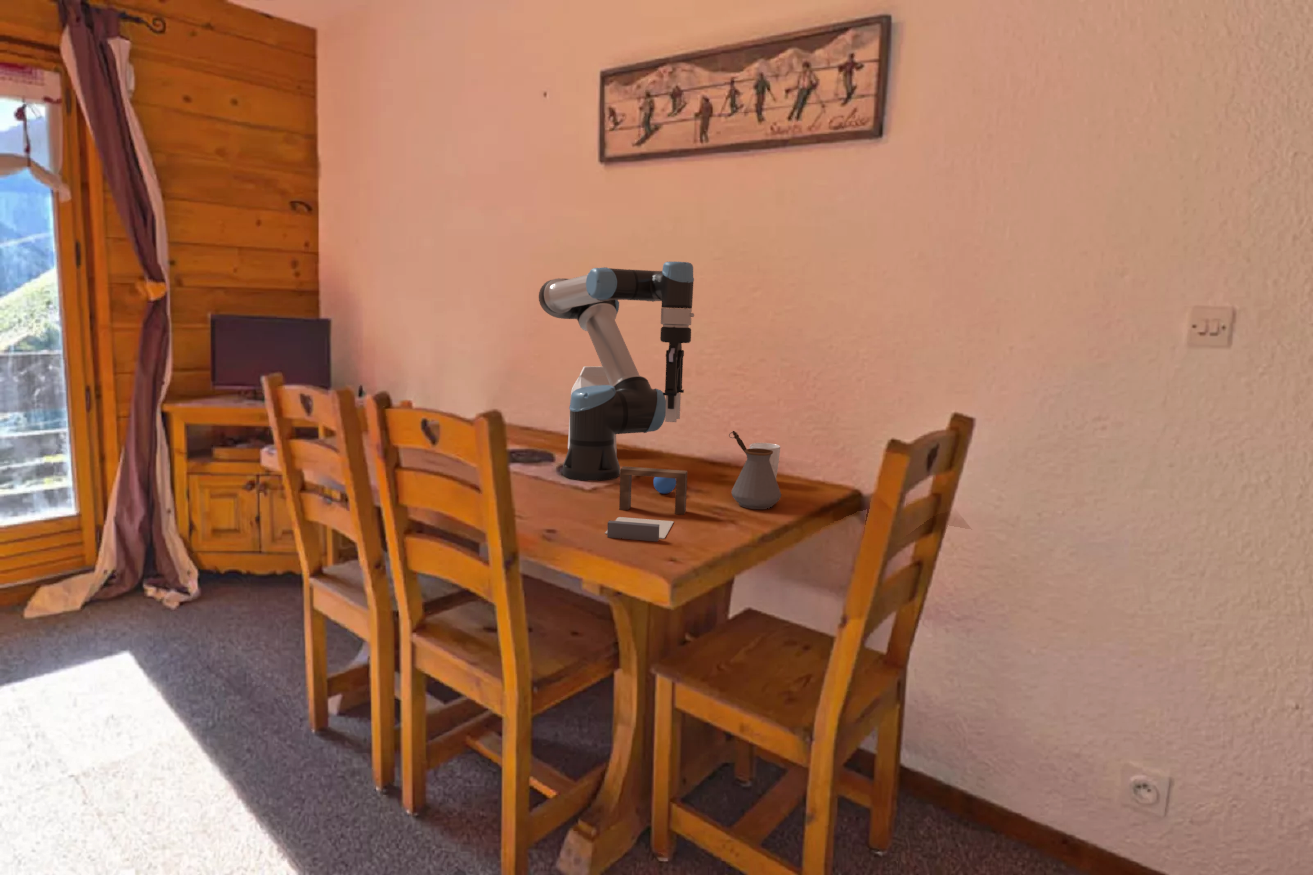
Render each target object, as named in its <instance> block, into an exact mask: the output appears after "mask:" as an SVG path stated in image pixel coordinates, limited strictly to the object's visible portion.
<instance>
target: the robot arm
mask: <svg viewBox="0 0 1313 875" xmlns="http://www.w3.org/2000/svg"><path fill="white" fill-rule="evenodd" d="M694 281H695V278H694V266H693V264H692V263H691V262H687V261H665V262H664V263H663V264H662V270H648V269H645V270H643V269H626V268H625V269H624V268H610V267H609V268H608V267H607V266H606V267H605V266H603V267H594V268H591V269H590V270H589V272H588V273H587V274H585V275H584V274H583V275H580V276H576V277H573V278H559V277H558V278H553V279H549V280H548V281H546V282H544V283H543V285H542V286H541V287H540V289H539V292H538V303H539V305H540V307H541V308H542V310H543V311H544V312H545V314H547V315H549V316H552V317H553V318H556V319H563V320H576V321H577V323H578V324H579V327H580V328H581V329H582V330H583V331H585V332H587V333H588V335H589V337H590V338H589V339H590V340H591V342H592V345H593V347H594V350H595V352H596V354H597V357H598V359H599V362H600V364H601V367H603V369H604V371H605V374H606V376H607V379H608V381H609V383H610V385H599V386H597V385H595V386H587V387H583V388H579V389H576V390H575V391H574V392H573V393H572V394H571V393H570V403H569V408H568V409H569V419H570V446H569V449H568V448H567V453H566V456H565V458H564V462H563V464H562V475H563V476H564V477H565V476H566V477H565V478H569V479H571V480H577V479H579V481H588V480H598V481H607V480H613V479H616V478H618V477H619V478H620V469H621V466H620V463H619V460H618V457H617V454H616V452H615V449H614V434H616V435H623V434H639V433H640V434H641V433H643V434H646V433H649V432H656V431H658V430H659V429H661V427H662V426H663V424H664V422H665V423H677V421H678V420H680V419H681V398H682V397H681V393H682V394H684V393H685V389H683V370H684V369H683V368H684V367H683V366H684V356H685V351H684V350H683V348H682V347H683V346H682V344H690V343H691V341H692V329H691V327H689V326H691V325H692V318H694V317H695V313H694V312H692V311H693V299H694V298H693V297H694V296H693V295H694ZM626 300H627V301H643V302H644V301H646V302H653V303H654V302H661V308H660V324H661V325H662V326H661V328H660V337H659V338H660V342H661V343H668V349H666V350H665V352H666V353H665V381H664V382H665V383H664V384H665V385H664V389H665V390H664V392H663V391H662V390H661V389H658V388H652V387H651V384H650V382H649V380H648V379H647V378H646V377H644V376H642V375H641V374H639V371H638V369H637V367H636V365H635V362H634V359H633V358H632V355H631V354H630V351H629V349H628V346H627V343H626V342H625V340H624V337H623V335H622V333H621V331H620V329H619V327H618V326H619V325H618V324H617V322H616V319H617V315H618V312H619V308H620V301H626Z"/></svg>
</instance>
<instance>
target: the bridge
mask: <svg viewBox="0 0 1313 875" xmlns="http://www.w3.org/2000/svg"><path fill="white" fill-rule="evenodd" d="M633 476H637V477H651V478H655V477H663V478H675V479H676V486H675V497H674V498H675V499H674V500H675V501H674V514H675V515H682V516H683V515H684V516H685V514H686V512H687V510H686V509H687V490H688V489H687V488H688V470H681V469H680V470H679V469H668V468H667V469H664V468H655V467H654V468H653V467H652V468H651V467H650V468H649V467H640V466H638V467H637V466H636V467H635V466H626V465H625V466H622V467H620V476H619V500H618V501H619V510H620V511H621V510H623V511H629V509H631V507H632V506H631V505H632V480H633V478H632V477H633Z"/></svg>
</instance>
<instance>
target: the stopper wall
mask: <svg viewBox="0 0 1313 875" xmlns="http://www.w3.org/2000/svg"><path fill="white" fill-rule="evenodd" d="M606 528H607V530H606V531H607V534H606V537H607V538H610V539H612V538H613V539H621V538H622V540H623V539H624V540H633V541H634V540H635V541H645V542H659V540H660V539H659V524H647V523H635V522H623V521H615V520H608V522H607V527H606Z"/></svg>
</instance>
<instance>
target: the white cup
mask: <svg viewBox="0 0 1313 875" xmlns="http://www.w3.org/2000/svg"><path fill="white" fill-rule="evenodd" d="M753 448H757V449H767V450H772V451H773V454H771V456H770V459H769V461H770V464H771V467H772V470H773V472H774V475H775V478H776V479H777V474H778V470H779V463H780V453H781V445H779V444H776V443H770V442H752V443H750V444H749V449H753Z"/></svg>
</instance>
